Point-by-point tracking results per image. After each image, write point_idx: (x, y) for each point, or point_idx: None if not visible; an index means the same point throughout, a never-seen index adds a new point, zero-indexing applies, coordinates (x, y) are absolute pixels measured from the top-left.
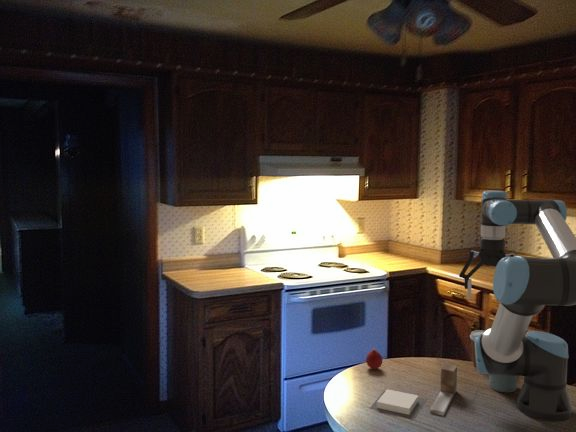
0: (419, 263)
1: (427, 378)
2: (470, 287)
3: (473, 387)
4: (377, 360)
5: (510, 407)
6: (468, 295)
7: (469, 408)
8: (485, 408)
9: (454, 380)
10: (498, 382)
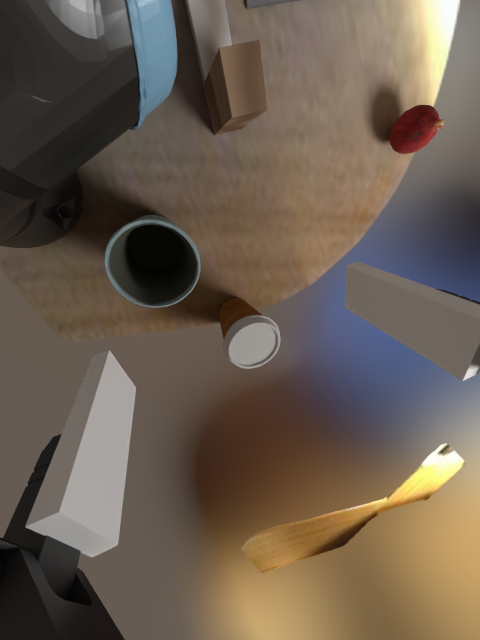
0: (394, 500)
1: (291, 172)
2: (408, 312)
3: (198, 195)
4: (410, 114)
5: None
6: (371, 270)
7: None
8: None
9: (215, 83)
10: (149, 215)
